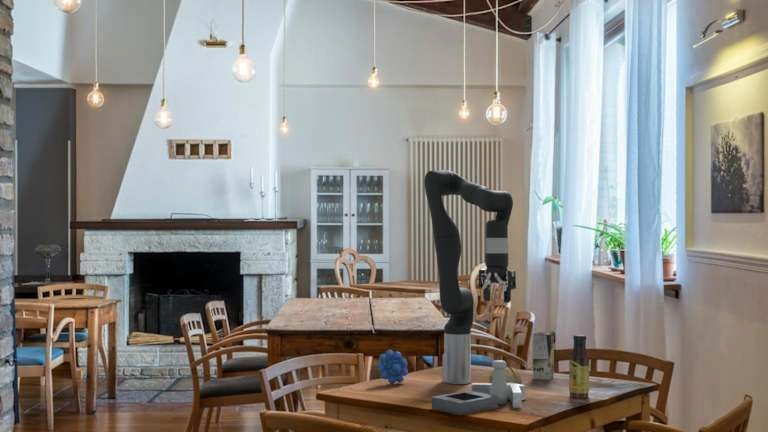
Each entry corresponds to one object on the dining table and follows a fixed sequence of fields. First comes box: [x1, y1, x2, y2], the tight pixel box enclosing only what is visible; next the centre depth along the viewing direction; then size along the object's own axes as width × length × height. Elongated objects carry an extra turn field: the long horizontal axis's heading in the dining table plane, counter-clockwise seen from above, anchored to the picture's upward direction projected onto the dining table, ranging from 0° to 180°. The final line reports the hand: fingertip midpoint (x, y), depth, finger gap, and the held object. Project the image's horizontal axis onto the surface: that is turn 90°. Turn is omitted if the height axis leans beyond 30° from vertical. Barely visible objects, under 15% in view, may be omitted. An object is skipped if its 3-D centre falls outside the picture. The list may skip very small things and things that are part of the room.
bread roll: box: [489, 366, 523, 385], centre depth 277 cm, size 10×15×8 cm, turn 17°
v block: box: [471, 382, 526, 409], centre depth 260 cm, size 12×20×4 cm, turn 40°
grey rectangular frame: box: [430, 389, 499, 416], centre depth 249 cm, size 12×16×4 cm
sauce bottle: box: [568, 333, 590, 399], centre depth 267 cm, size 7×6×20 cm
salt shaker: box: [490, 359, 509, 405], centre depth 257 cm, size 6×6×13 cm
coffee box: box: [532, 331, 555, 381], centre depth 302 cm, size 9×6×16 cm
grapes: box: [376, 349, 409, 385], centre depth 287 cm, size 12×7×12 cm, turn 115°
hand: (496, 301), depth 270 cm, fingers open, 8 cm apart
